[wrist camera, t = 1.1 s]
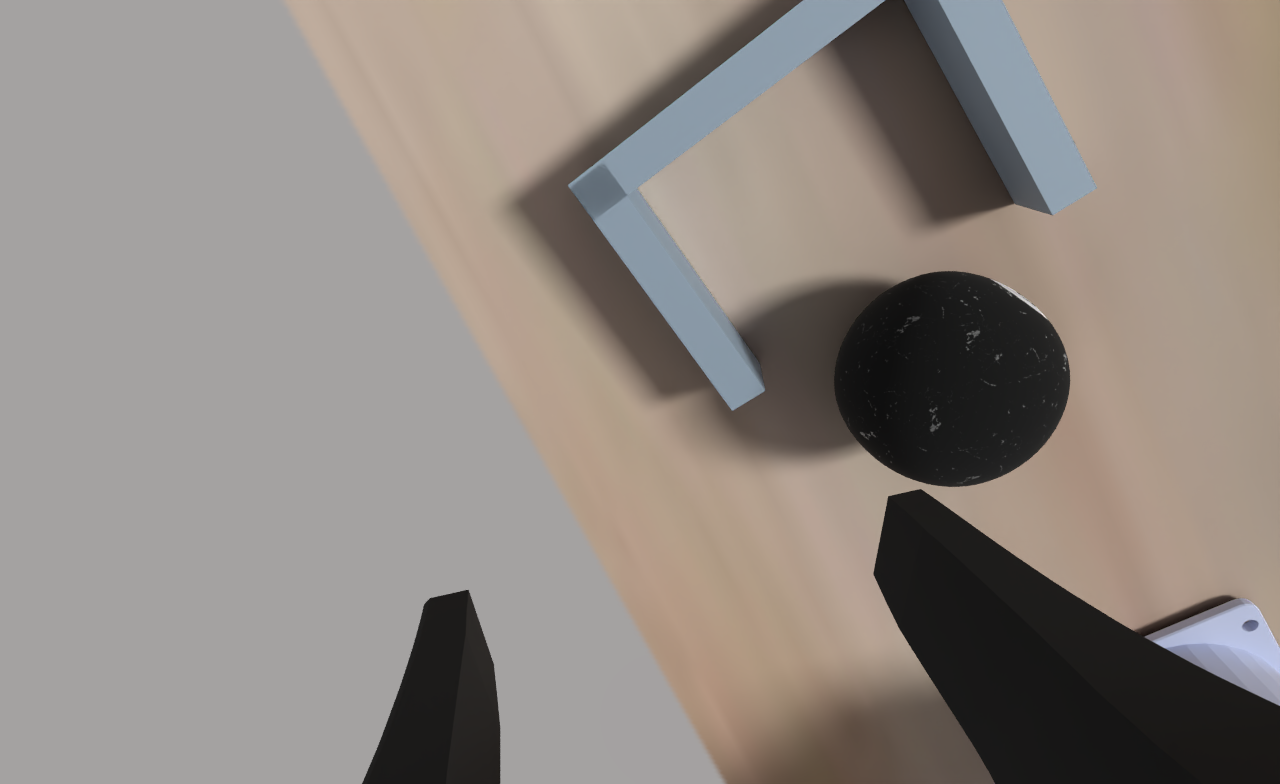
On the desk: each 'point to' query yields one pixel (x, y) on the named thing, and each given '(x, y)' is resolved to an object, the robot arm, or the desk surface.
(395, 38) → the desk surface
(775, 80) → the corral
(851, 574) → the desk surface
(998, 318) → the billiard ball
